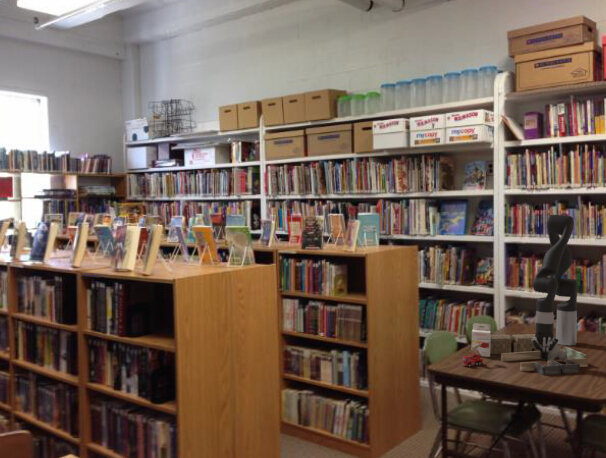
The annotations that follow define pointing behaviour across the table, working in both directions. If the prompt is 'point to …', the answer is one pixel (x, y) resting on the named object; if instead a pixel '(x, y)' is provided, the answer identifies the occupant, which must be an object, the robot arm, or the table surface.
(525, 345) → the block tower
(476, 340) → the ink cartridge box
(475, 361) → the toy fire truck
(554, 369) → the trap channel
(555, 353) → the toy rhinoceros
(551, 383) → the table surface
